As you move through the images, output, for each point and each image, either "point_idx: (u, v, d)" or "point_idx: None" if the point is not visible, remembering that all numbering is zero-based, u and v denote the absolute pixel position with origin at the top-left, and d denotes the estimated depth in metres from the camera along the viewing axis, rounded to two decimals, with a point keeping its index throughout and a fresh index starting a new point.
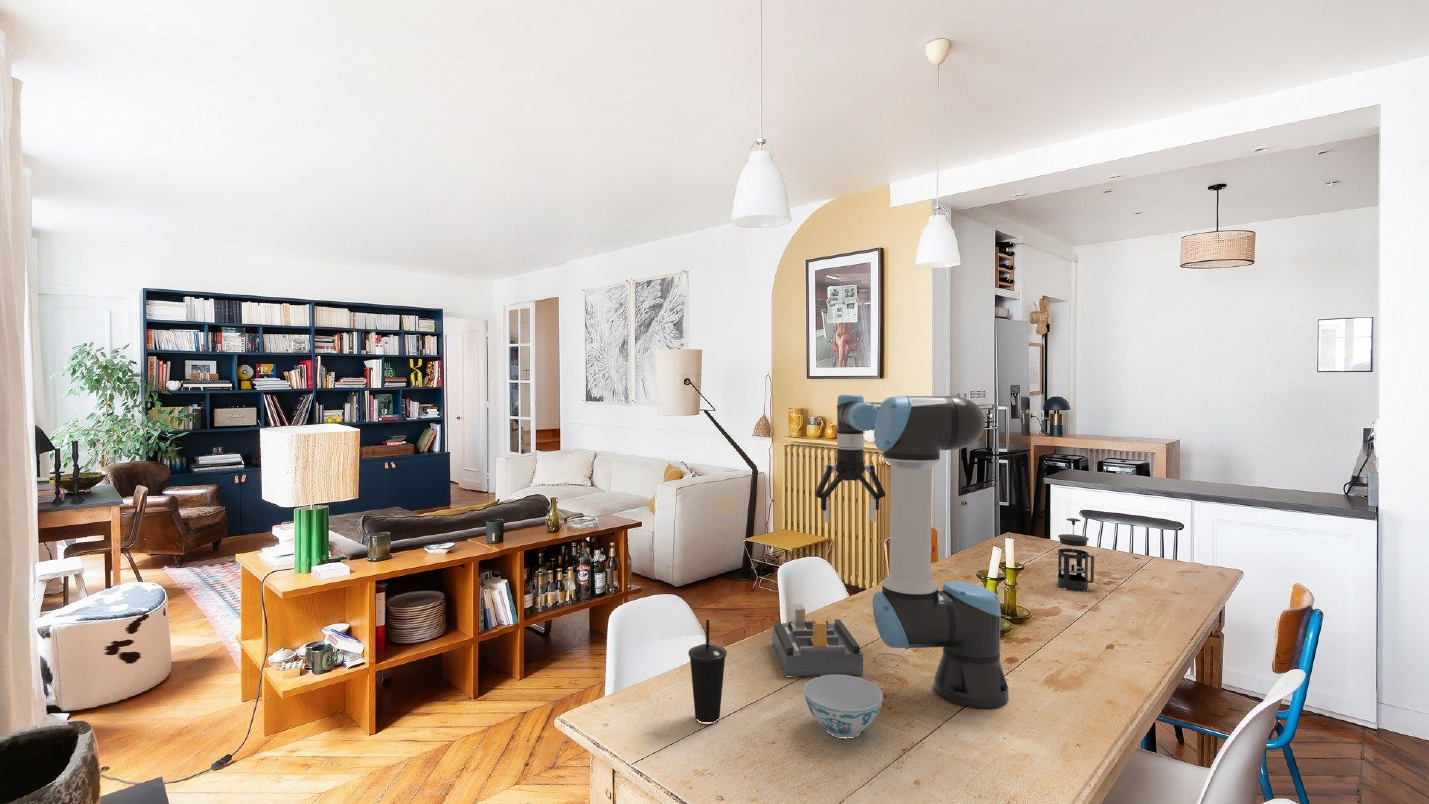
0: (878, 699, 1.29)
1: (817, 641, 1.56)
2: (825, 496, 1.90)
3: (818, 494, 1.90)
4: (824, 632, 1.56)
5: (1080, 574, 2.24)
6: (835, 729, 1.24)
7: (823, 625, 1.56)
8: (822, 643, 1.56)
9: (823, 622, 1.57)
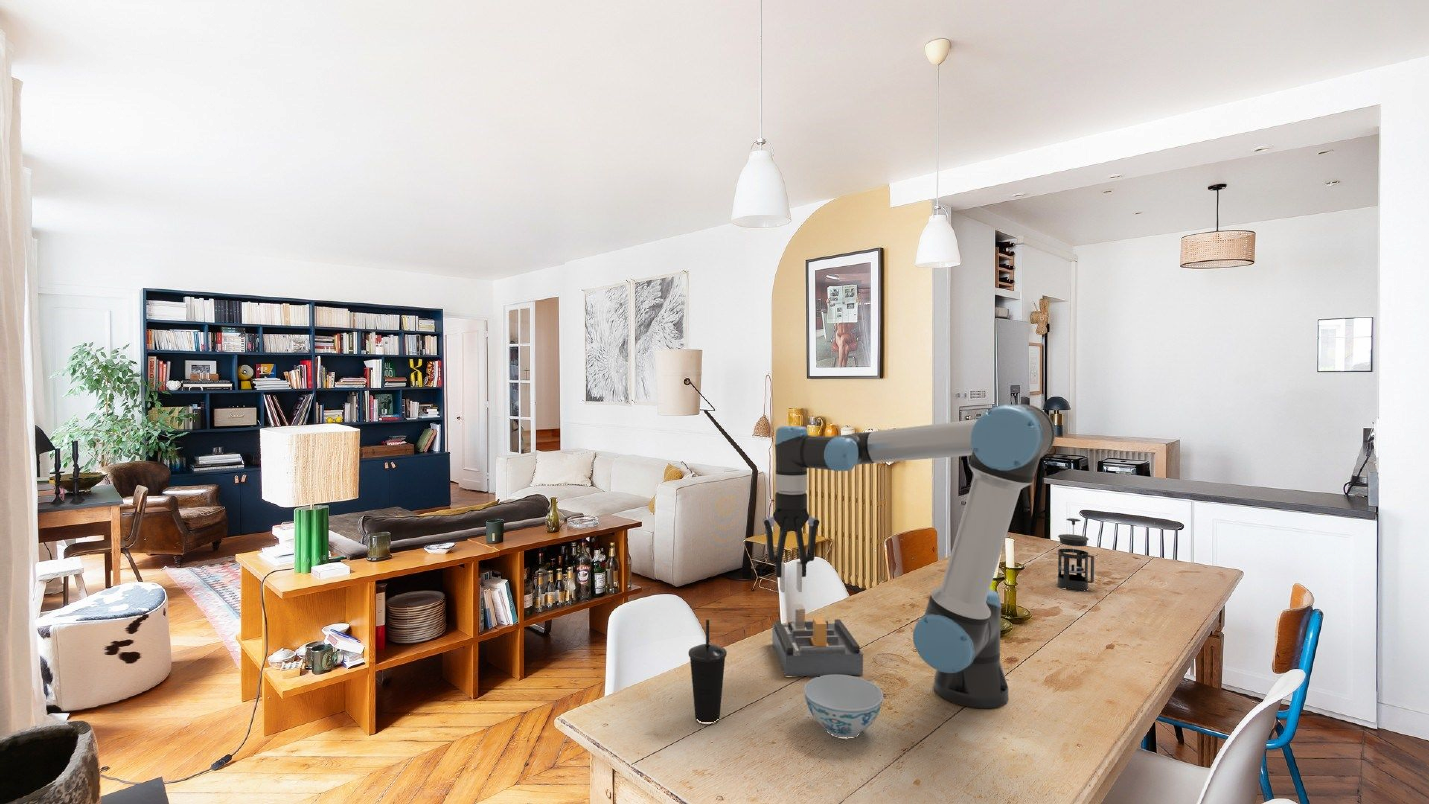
0: (878, 699, 1.29)
1: (817, 641, 1.56)
2: (779, 560, 1.56)
3: (771, 558, 1.55)
4: (824, 632, 1.56)
5: (1080, 574, 2.24)
6: (835, 729, 1.24)
7: (823, 625, 1.56)
8: (822, 643, 1.56)
9: (823, 622, 1.57)
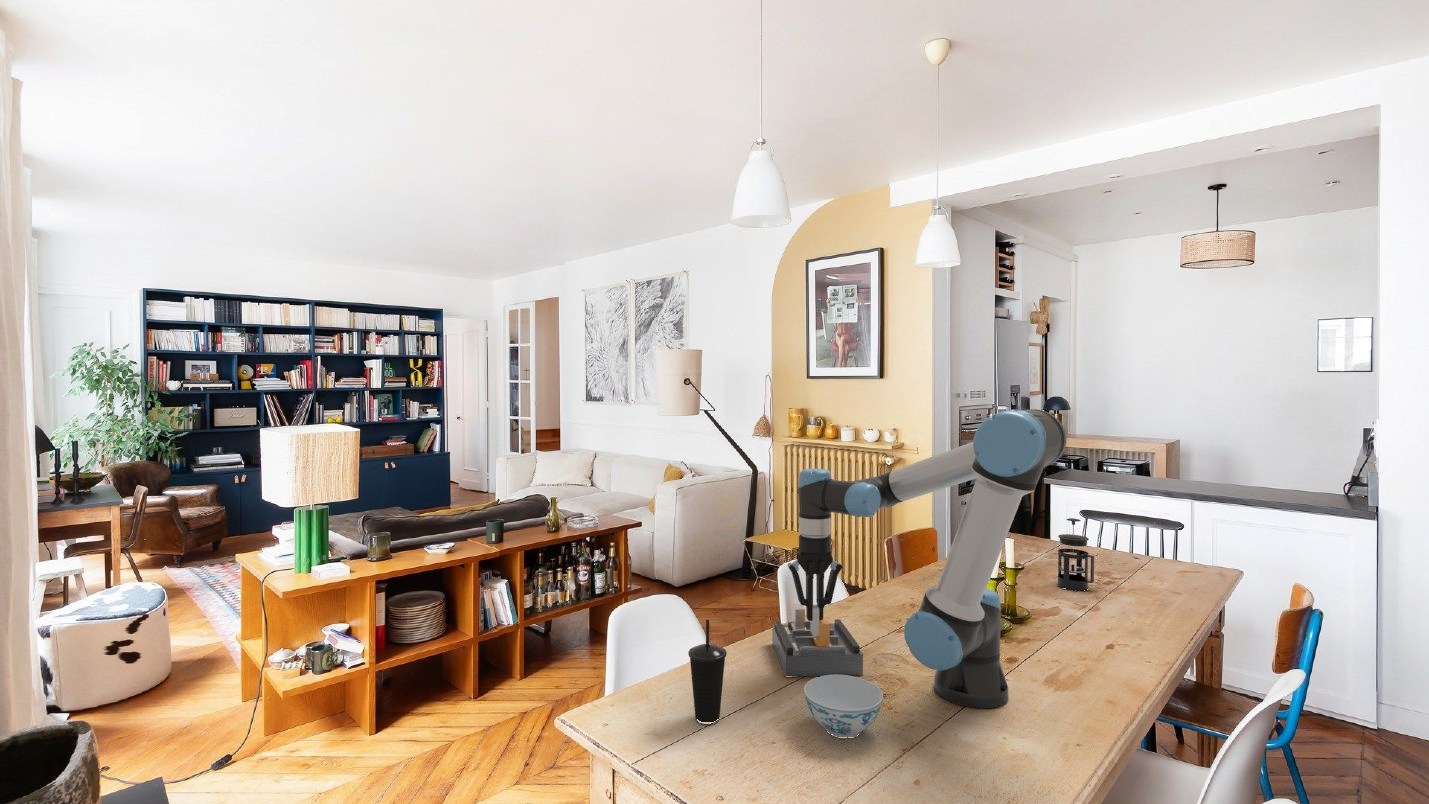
0: (878, 699, 1.29)
1: (820, 641, 1.56)
2: (810, 603, 1.56)
3: (802, 601, 1.56)
4: (827, 632, 1.56)
5: (1080, 574, 2.24)
6: (835, 729, 1.24)
7: (826, 625, 1.56)
8: (825, 643, 1.56)
9: (826, 622, 1.57)
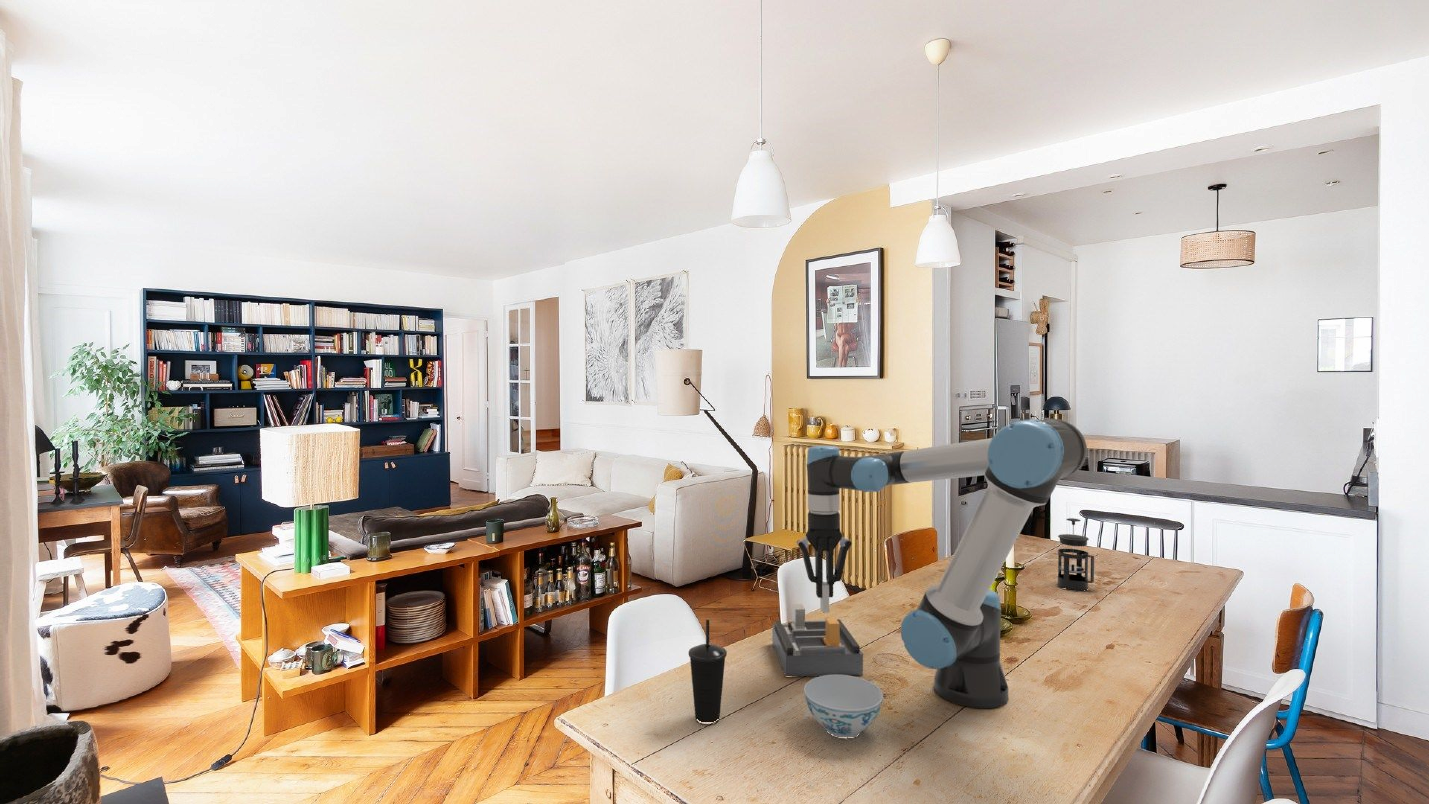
0: (878, 699, 1.29)
1: (830, 641, 1.56)
2: (820, 580, 1.56)
3: (812, 578, 1.56)
4: (837, 632, 1.56)
5: (1080, 574, 2.24)
6: (835, 729, 1.24)
7: (835, 625, 1.56)
8: (835, 643, 1.56)
9: (836, 622, 1.57)
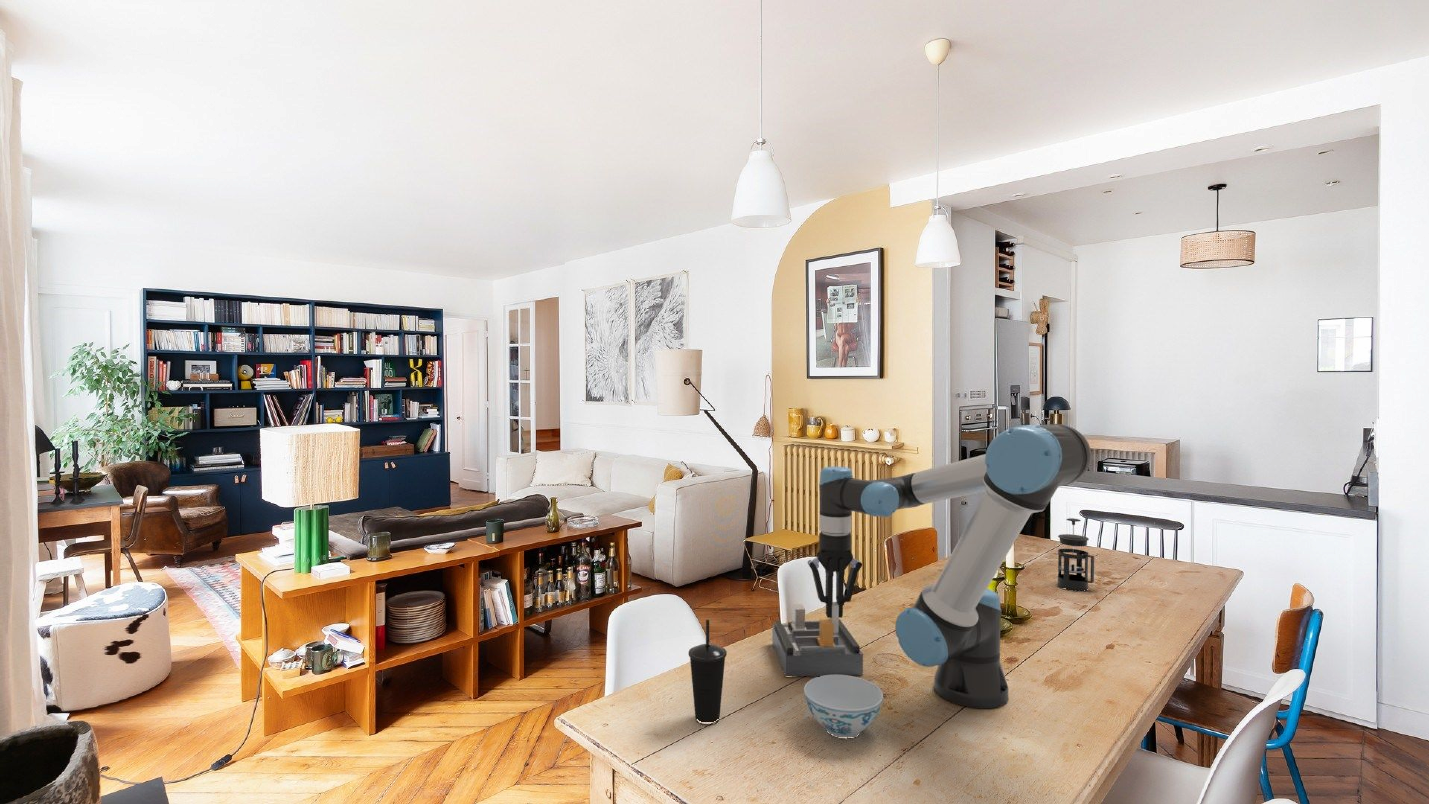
0: (878, 699, 1.29)
1: (824, 641, 1.56)
2: (830, 600, 1.57)
3: (822, 599, 1.57)
4: (831, 632, 1.56)
5: (1080, 574, 2.24)
6: (835, 729, 1.24)
7: (829, 625, 1.56)
8: (829, 643, 1.56)
9: (830, 622, 1.57)
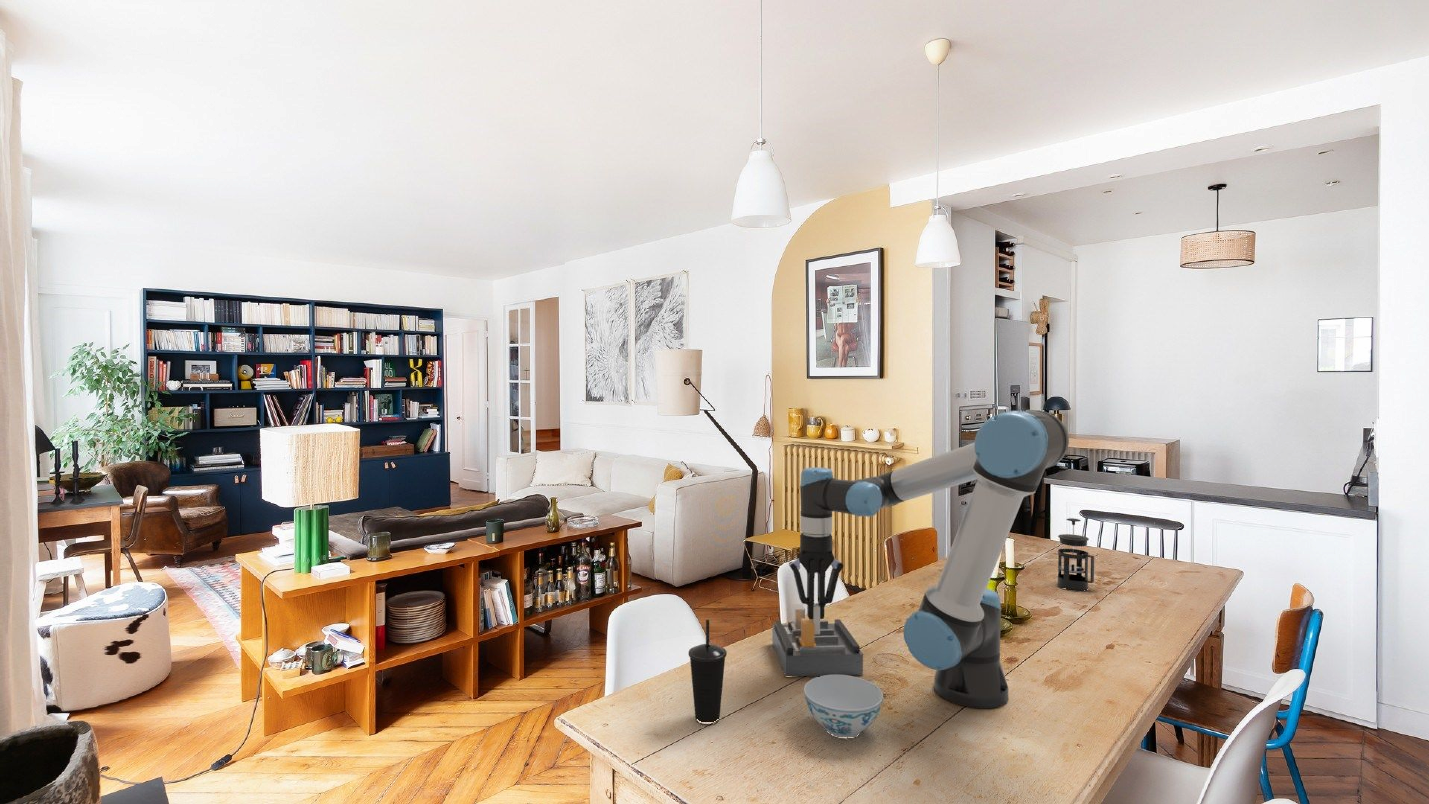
0: (878, 699, 1.29)
1: (805, 641, 1.56)
2: (811, 602, 1.56)
3: (803, 600, 1.56)
4: (812, 632, 1.56)
5: (1080, 574, 2.24)
6: (835, 729, 1.24)
7: (811, 626, 1.56)
8: (810, 643, 1.56)
9: (811, 622, 1.57)
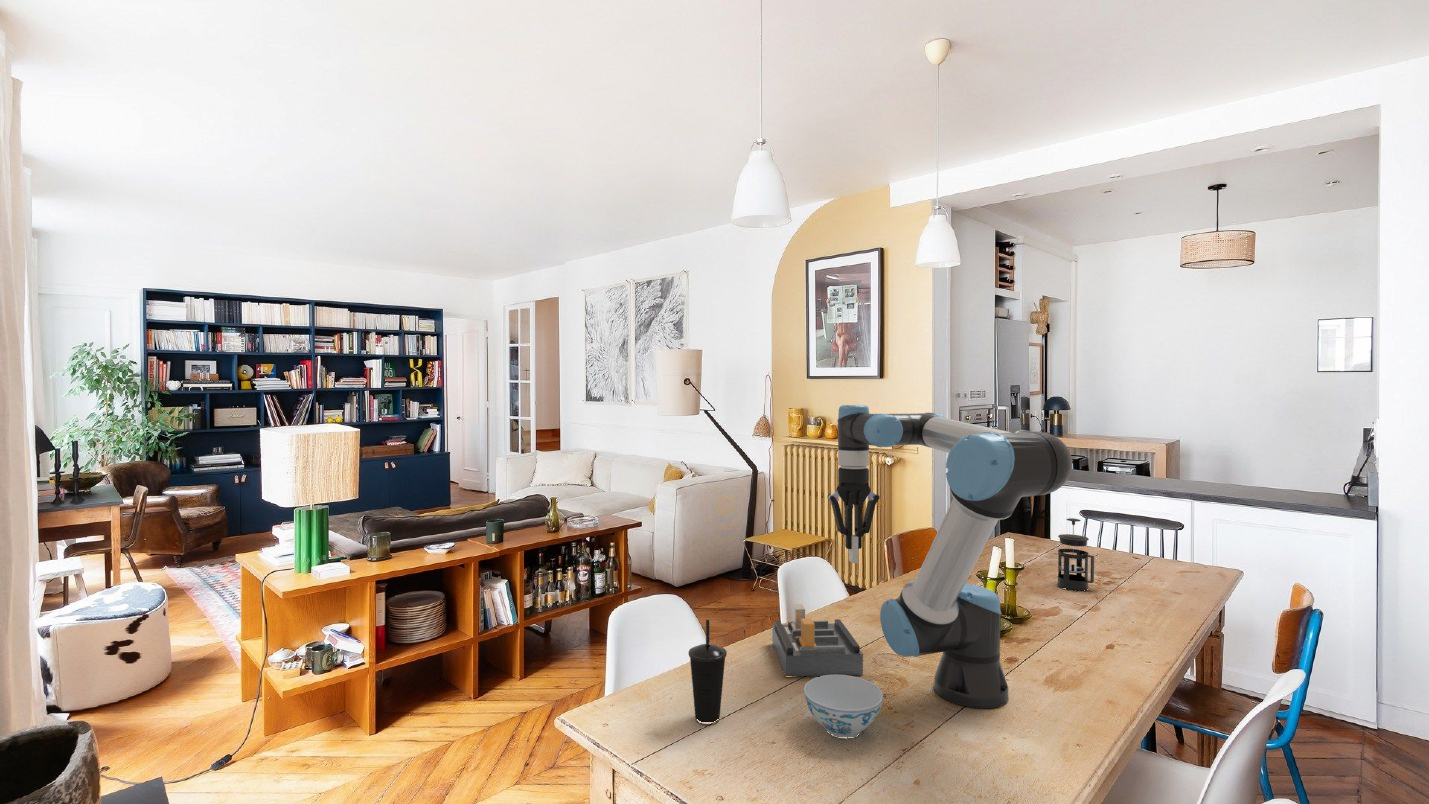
0: (878, 699, 1.29)
1: (805, 641, 1.56)
2: (850, 532, 1.64)
3: (842, 530, 1.63)
4: (812, 632, 1.56)
5: (1080, 574, 2.24)
6: (835, 729, 1.24)
7: (810, 626, 1.56)
8: (810, 643, 1.56)
9: (811, 622, 1.57)
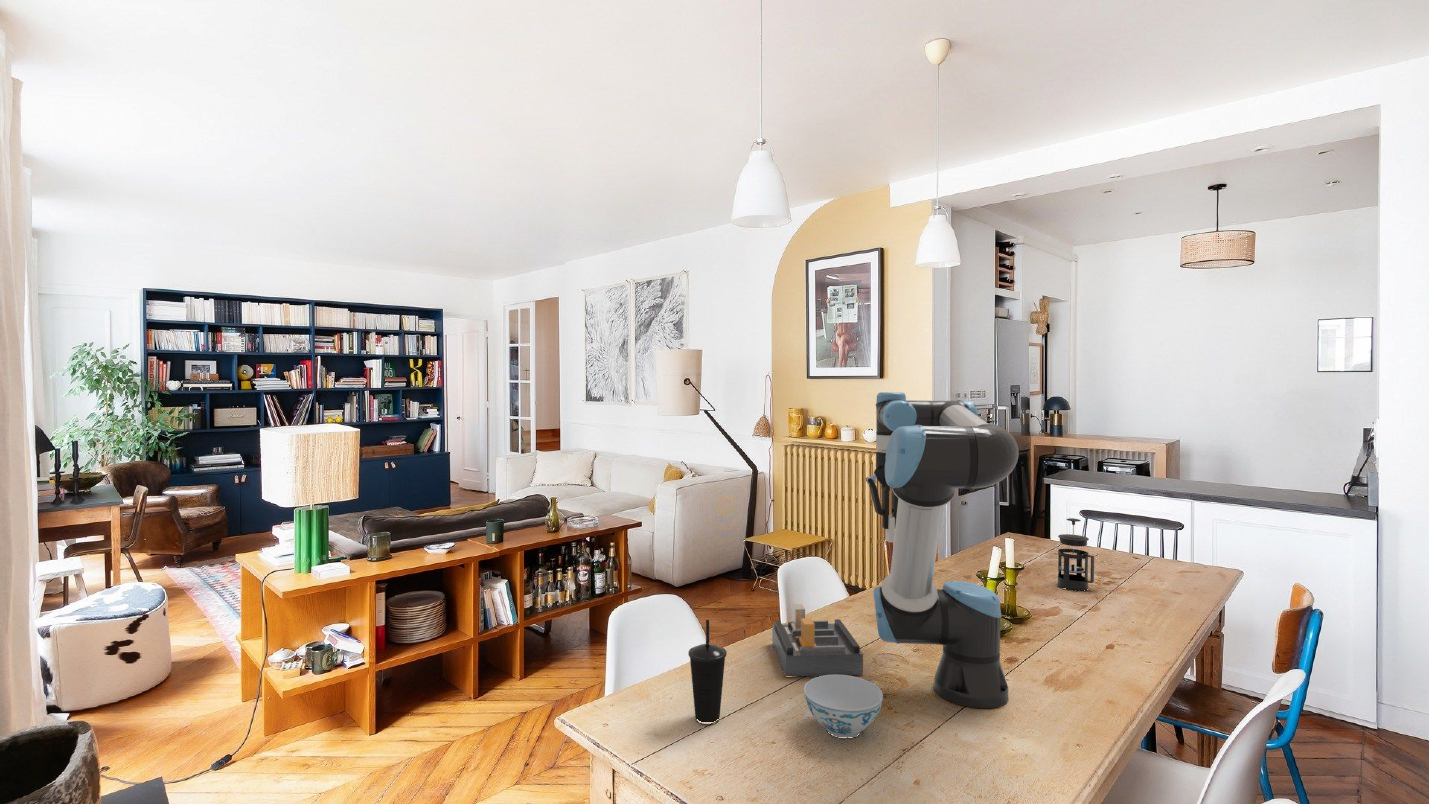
0: (878, 699, 1.29)
1: (805, 641, 1.56)
2: (887, 513, 1.72)
3: (879, 511, 1.72)
4: (812, 632, 1.56)
5: (1080, 574, 2.24)
6: (835, 729, 1.24)
7: (810, 626, 1.56)
8: (810, 643, 1.56)
9: (811, 622, 1.57)
